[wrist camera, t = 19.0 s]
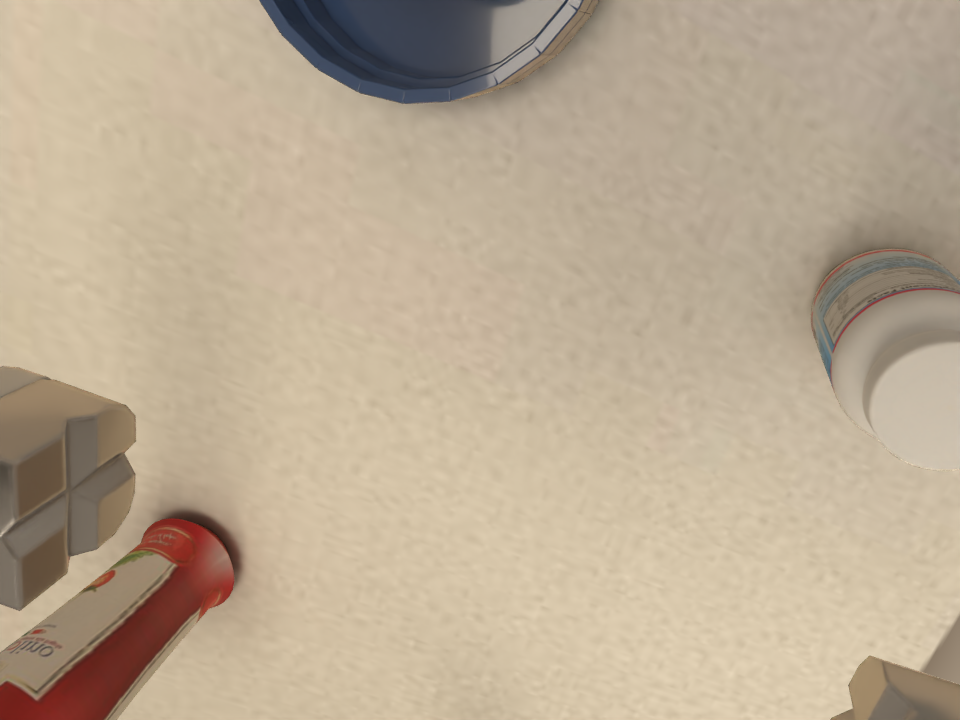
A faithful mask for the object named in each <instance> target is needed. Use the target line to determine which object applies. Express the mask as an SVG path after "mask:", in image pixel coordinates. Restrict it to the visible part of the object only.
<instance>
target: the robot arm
mask: <svg viewBox="0 0 960 720" xmlns="http://www.w3.org/2000/svg"><path fill="white" fill-rule="evenodd" d="M135 442H136V419H135V415H134V414H133V412H132V411H131V410H130V409H129V408H128V407H127V406H126V405H124V404H121V403H118V402H116V401H113V400H110V399H107V398H104V397H102V396H99V395H96V394H93V393H91V392H88V391H85V390H82V389H79V388H77V387H74V386H71V385H68V384H66V383H63V382H60V381H57V380H52V379H50V378H48V377H46V376H43V375H40V374H37V373H34V372H31V371H28V370H25V369H22V368H19V367H7V366H2V367H0V604H2V605H5V606H7V607H10V608H13V609H16V610H19V611H20V610H22V609H23V608H24V607H25V606H27V605H28V604H29V603H30V602H32V601H33V600H34V599H35V598H37V597H38V596H39V595H40V594H42V593H43V592H44V591H45V590H47V589H48V588H49V587H50V586H52V585H53V584H54V583H55V582H57V581H58V580H59V579H61V578H62V577H63V576H64V575H66V574H67V572H68V566H69V560H70V557H71V556H74V555H78V554H82V553H85V552H89V551H93V550H96V549H98V548H99V547H100V546H101V545H102V544H104V543H105V542H106V541H107V540H108V539H110V538H111V537H112V536H113V535H114V534H115V533H116V531H117V530H118V528H119V527H120V525H121V524H122V522H123V521H124V519H125V517H126V516H127V514H128V513H129V510H130V507H131V503H132V500H133V496H134V493H135V473H134V471H133V469H132V467H131V465H130V463H129V461H128V460H127V458H126V456H125V454H124V453H125V452H126V451H127V450H128V449H129V448H130V447H131V446H132V445H133V444H134V443H135ZM848 686H849V691H850V696H851V700H852V705H853V709H851V710H848V711H846V712H844V713H841V714H839V715H837V716H835V717H832V718H831V719H830V720H960V685H959V684H956V683H953V682H950V681H947V680H944V679H941V678H937V677H935V676H931V675H929V674H925V673H922V672H919V671H916V670H913V669H910V668H907V667H904V666H901V665H898V664H895V663H891V662H888V661H885V660H882V659H879V658H876V657H873V656H869V657H868V658H866V659H865V660H864V661H863V662H862V663H861V664H860V665H859V667H858V668H857V670H856V672H855V674H854V676H853V678H852V679H851V681H850V683H849V685H848Z"/></svg>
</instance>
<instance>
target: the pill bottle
mask: <svg viewBox="0 0 960 720" xmlns="http://www.w3.org/2000/svg"><path fill="white" fill-rule="evenodd" d="M811 325H812V331H813V334H814V338H815V341H816V343H817V346H818V349H819V352H820V354H821V357H822V360H823V363H824V365H825V368H826V371H827V373H828V376H829V379H830V382H831V384H832V387H833V390H834V392H835V395H836V397H837V400H838V402H839V404H840V406H841V407H842V409H843V411H844V412H845V413H846V415H847V416H848V417H849V418H850V419H851V421H852V422H853V423H854V424H855V425H856V426H858V427H859V428H860V429H861V430H862V431H864V432H865V433H867V434H868V435H870V436H871V437H873V438H875V439H877V440H879V441H880V443H881V444H882V445H883V446H884V447H885V448H886V449H887V450H888V451H889V452H890V453H891V454H893V455H894V456H895V457H897V458H898V459H900V460H902V461H904V462H906V463H908V464H910V465H913V466H916V467H919V468H924V469H929V470H938V471H950V470H958V469H960V281H959V280H958V279H957V278H956V277H954V276H953V275H952V274H951V273H950V272H949V271H948V270H947V269H946V268H945V267H943V266H942V265H941V264H940V263H938V262H937V261H935V260H934V259H932V258H930V257H928V256H926V255H924V254H922V253H919V252H915V251H911V250H906V249H880V250H874V251H869V252H865V253H862V254H859V255H856V256H854V257H852V258H850V259H848V260H846V261H844V262H843V263H841V264H840V265H838V266H837V267H836V268H835V269H834V270H833V271H831V272H830V273H829V274H828V276H827V277H826V278H825V279H824V280H823V282H822V283H821V285H820V287H819V289H818V290H817V292H816V295H815V297H814V300H813V304H812V310H811Z"/></svg>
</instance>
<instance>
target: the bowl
mask: <svg viewBox="0 0 960 720" xmlns="http://www.w3.org/2000/svg"><path fill="white" fill-rule="evenodd" d="M259 1H260V2H261V4H262V5H263V7H264V8H265V10H266V12H267V13H268V15H269V16H270V18H271V19H272V21H273V23H274V24H275V26H276V27H277V29H278V30H279V32H280V33H281V34H282V36H283V37H284V38H285V39H286V40H287V41H288V42H289V43H291V44H292V45H293V46H294V47H295V48H296V49H297V50H298V51H299V52H300V53H301V54H302V55H303V56H304V57H305V58H306V59H307V60H308V61H309V62H310V63H311V64H312V65H313V66H314V67H315V68H317V69H318V70H319V71H321V72H323V73H325V74H326V75H328V76H330V77H332V78H333V79H335V80H337V81H339V82H340V83H342V84H344V85H346V86H348V87H349V88H351V89H353V90H355V91H356V92H359V93H361V94H365V95H369V96H374V97H378V98H382V99H386V100H390V101H394V102H398V103H402V104H404V103H405V104H415V103H436V102H452V101H457V100H462V99H467V98H473V97H478V96H480V95H483V94H486V93H489V92H492V91H495V90H498V89H501V88H503V87H506V86H509V85H512V84H515V83H517V82H519V81H521V80H522V79H524V78H525V77H527V76H528V75H530V74H531V73H532V72H534V71H535V70H537V69H538V68H540V67H541V66H543V65H544V64H545V63H547V62H548V61H550V60H551V59H553V58H554V57H555V56H557V54H559V53H560V52H561V51H562V50H563V48H564V47H565V46H566V45H567V44H568V43H569V41H570V40H571V39H572V38H573V37H574V36H575V34H576V33H577V32H578V31H579V30H580V29H581V27H582V26H583V25H584V24H585V23H586V21H587V20H588V19H589V18H590V17H591V14H592V13H593V12H594V10H595V8H596V6H597V4H598V2H599V0H259Z"/></svg>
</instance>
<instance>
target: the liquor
mask: <svg viewBox="0 0 960 720" xmlns="http://www.w3.org/2000/svg"><path fill="white" fill-rule="evenodd" d="M233 585H234V571H233V567H232V563H231V560H230V558H229V555H228V552H227V550H226V548H225V546H224V544H223V543H222V541H221V540H220V539H219V538H218V536H216V535H215V534H214V533H213V532H212V531H210V530H209V529H207V528H205V527H203V526H200V525H197V524H195V523H192V522H189V521H186V520H182V519H173V518H169V519H162V520H160V521H157V522H155V523H154V524H152V525H151V526H150V527H149V528H148V529H147V530H146V532H145V533H144V536H143V538H142V542H141V544H139V545H138V546H137V547H136V548H134V549H133V550H132V551H131V552H129V553H128V554H127V555H126V556H125V557H123V558H122V559H121V560H120V561H118V562H117V563H116V564H115V565H113V566H112V567H111V568H110V569H109V570H107V571H106V572H105V573H104V574H102V575H101V576H100V577H99V578H97V579H96V580H95V581H93V582H92V583H91V584H90V585H88V586H87V587H86V588H84V589H83V590H82V591H81V592H79V593H78V594H77V595H76V596H74V597H73V598H72V599H70V600H69V601H68V602H67V603H65V604H64V605H63V606H62V607H60V608H59V609H58V610H56V611H55V612H54V613H53V614H51V615H50V616H49V617H47V618H46V619H45V620H43V621H42V622H40V623H39V624H38V625H36V626H35V627H34V628H32V629H31V630H30V631H28V632H27V633H26V634H24V635H23V636H22V637H20V638H19V639H18V640H16V641H15V642H14V643H12V644H11V645H9V646H8V647H7V648H5V649H4V650H3V651H1V652H0V720H117V719H118V717H119V716H120V715H121V714H122V712H123V711H124V710H125V709H126V707H127V706H128V705H129V703H130V702H131V701H132V700H133V698H134V697H135V696H136V695H137V693H138V692H139V691H140V689H141V688H142V687H143V686H144V685H145V683H146V682H147V681H148V680H149V679H150V677H151V676H152V675H153V674H154V673H155V671H156V670H157V669H158V668H159V667H160V665H161V664H162V663H163V662H164V661H165V659H166V658H167V657H168V656H169V655H170V653H171V652H172V651H173V650H174V649H175V647H176V646H177V645H178V644H179V643H180V641H181V640H182V639H183V638H184V637H185V636H186V634H187V633H188V632H189V631H190V630H191V629H192V627H193V626H194V625H195V624H196V623H197V622H198V621H199V619H200V618H201V617H202V616H203V615H204V614H205V612H206V611H207V610H208V609H209V608H212V607H215V606H218V605H220V604H222V603H223V602H225V600H226V599H227V598H228V597H229V596H230V594H231V592H232V590H233Z"/></svg>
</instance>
